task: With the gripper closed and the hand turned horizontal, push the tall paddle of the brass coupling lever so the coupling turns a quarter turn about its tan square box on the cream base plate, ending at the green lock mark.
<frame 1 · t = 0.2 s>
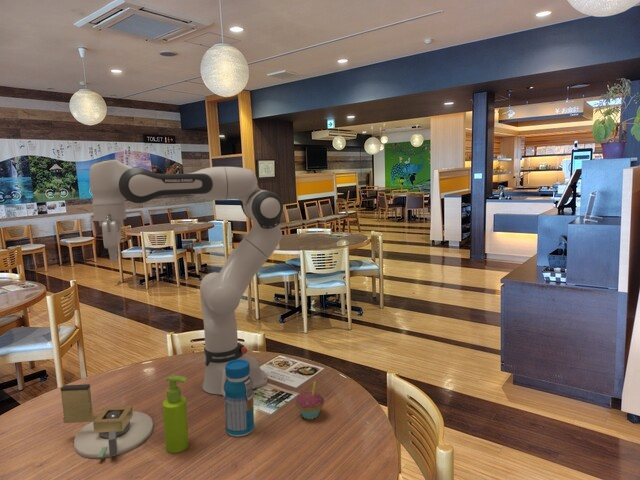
hand: (114, 259, 130), 48 cm above the table, tool pointing down, fingers open, 8 cm apart
beverage bottle: (240, 429, 123), on the table
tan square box: (114, 422, 120), point 4 cm above the table
plate: (115, 435, 121), on the table
cupcake: (309, 416, 130), on the table
soap dispenser: (179, 447, 116), on the table
coupling: (95, 405, 119), point 9 cm above the table, hinge at 0.0°
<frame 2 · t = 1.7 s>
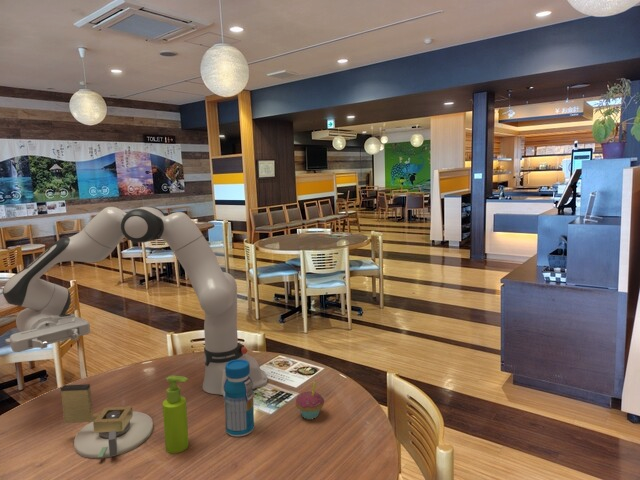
hand: (60, 341, 122), 26 cm above the table, tool horizontal, fingers open, 7 cm apart
nothing on the table moved.
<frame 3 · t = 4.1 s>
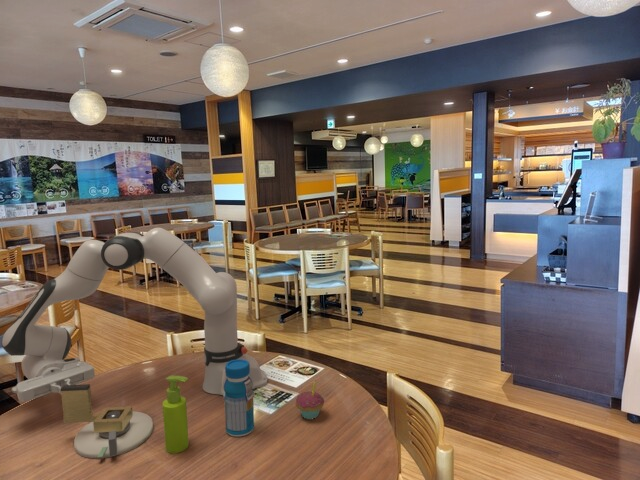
hand: (65, 389, 124), 12 cm above the table, tool horizontal, fingers closed
nothing on the table moved.
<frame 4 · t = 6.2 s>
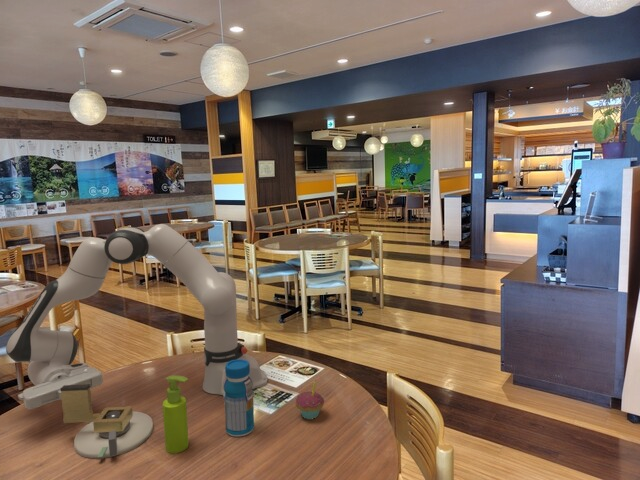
hand: (73, 396, 120), 11 cm above the table, tool horizontal, fingers closed
coupling: (95, 405, 119), point 9 cm above the table, hinge at 0.1°, touching gripper
everything else where it was.
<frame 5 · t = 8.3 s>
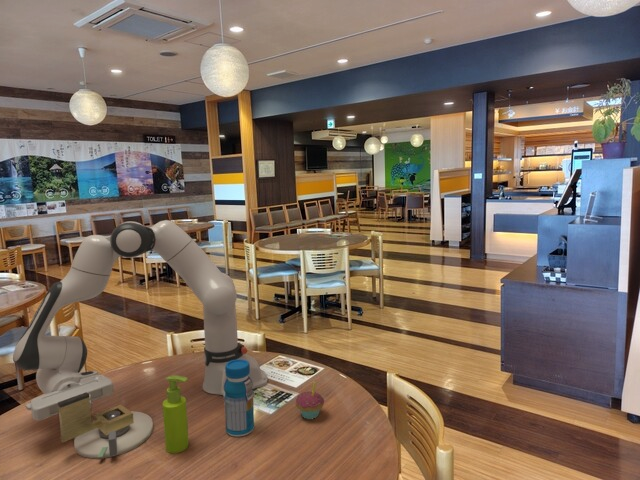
hand: (83, 407, 114), 11 cm above the table, tool horizontal, fingers closed, pressing on coupling
coupling: (94, 411, 116), point 9 cm above the table, hinge at 45.4°, touching gripper
everything else where it was.
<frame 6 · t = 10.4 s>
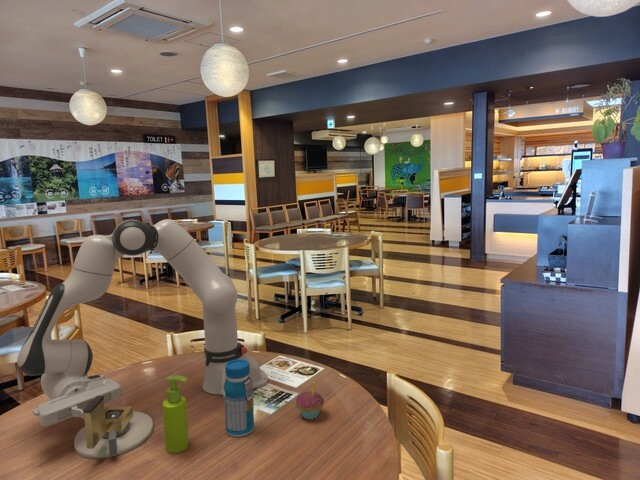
hand: (92, 412, 112), 11 cm above the table, tool horizontal, fingers closed
coupling: (104, 413, 115), point 9 cm above the table, hinge at 87.8°, touching gripper
everything else where it was.
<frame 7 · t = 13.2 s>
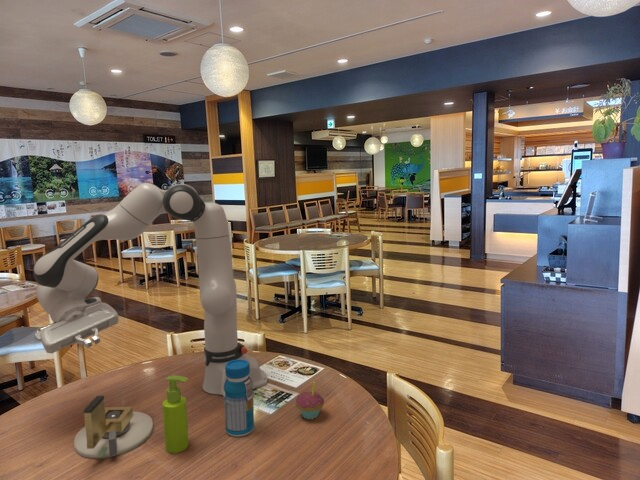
hand: (93, 343, 120), 26 cm above the table, tool tilted 65°, fingers closed
coupling: (104, 413, 115), point 9 cm above the table, hinge at 88.0°
everything else where it was.
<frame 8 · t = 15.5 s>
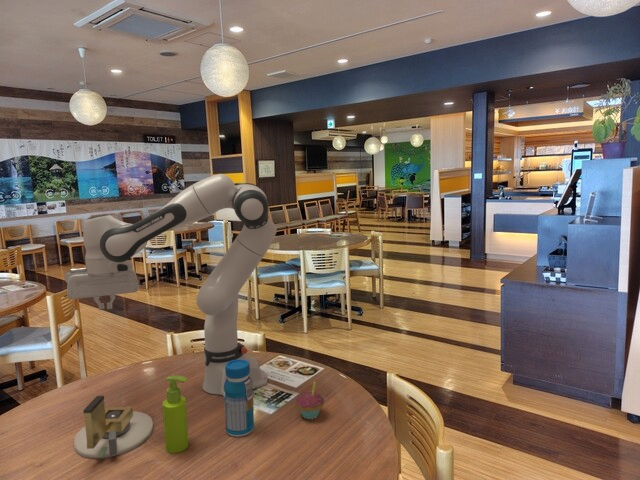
hand: (105, 308, 136), 31 cm above the table, tool pointing down, fingers closed
nothing on the table moved.
at the end: coupling at +88° (first picture: +0°) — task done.
